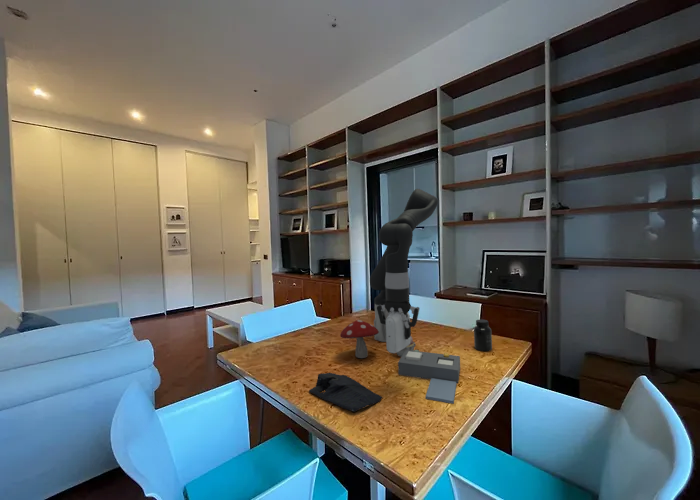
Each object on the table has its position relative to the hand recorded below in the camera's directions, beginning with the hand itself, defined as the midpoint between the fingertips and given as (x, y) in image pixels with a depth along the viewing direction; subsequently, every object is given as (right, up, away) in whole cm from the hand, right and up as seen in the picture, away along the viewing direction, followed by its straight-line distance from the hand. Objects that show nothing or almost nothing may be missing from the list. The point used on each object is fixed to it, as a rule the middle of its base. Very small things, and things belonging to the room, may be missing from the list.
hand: (398, 337), depth 95 cm
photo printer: (0, -4, 0) cm, 4 cm away
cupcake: (+7, -15, +26) cm, 31 cm away
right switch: (+18, -14, +8) cm, 24 cm away
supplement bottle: (+41, -14, +29) cm, 52 cm away
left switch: (+8, -12, +13) cm, 19 cm away
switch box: (+13, -15, +11) cm, 23 cm away
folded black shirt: (-17, -18, -2) cm, 25 cm away
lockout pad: (+13, -16, -3) cm, 21 cm away
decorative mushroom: (-11, -16, +27) cm, 33 cm away
